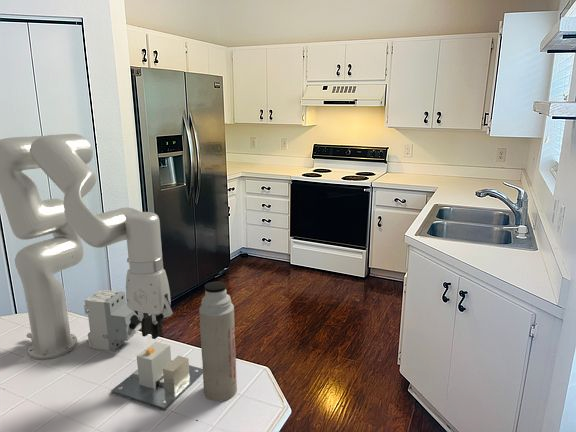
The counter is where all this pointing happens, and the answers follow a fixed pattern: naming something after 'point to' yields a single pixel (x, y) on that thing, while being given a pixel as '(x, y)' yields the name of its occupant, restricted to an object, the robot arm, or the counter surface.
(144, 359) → the block
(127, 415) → the counter surface
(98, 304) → the circuit breaker
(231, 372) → the thermos bottle
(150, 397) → the mounting plate
